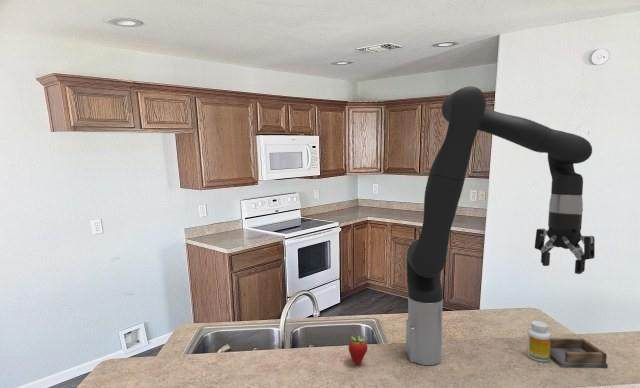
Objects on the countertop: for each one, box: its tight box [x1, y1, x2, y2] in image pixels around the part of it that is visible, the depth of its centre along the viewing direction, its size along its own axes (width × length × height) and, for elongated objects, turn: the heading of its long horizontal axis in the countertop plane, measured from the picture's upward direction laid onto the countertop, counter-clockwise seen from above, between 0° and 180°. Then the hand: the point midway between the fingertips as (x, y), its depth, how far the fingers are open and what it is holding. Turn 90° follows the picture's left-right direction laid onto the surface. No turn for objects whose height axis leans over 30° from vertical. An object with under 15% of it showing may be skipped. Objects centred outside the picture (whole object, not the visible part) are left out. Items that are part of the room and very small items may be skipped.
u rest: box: [550, 337, 609, 369], centre depth 99 cm, size 12×10×4 cm
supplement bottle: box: [527, 320, 552, 363], centre depth 99 cm, size 5×5×10 cm
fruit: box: [348, 335, 368, 365], centre depth 97 cm, size 5×5×8 cm
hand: (561, 269), depth 98 cm, fingers open, 8 cm apart
